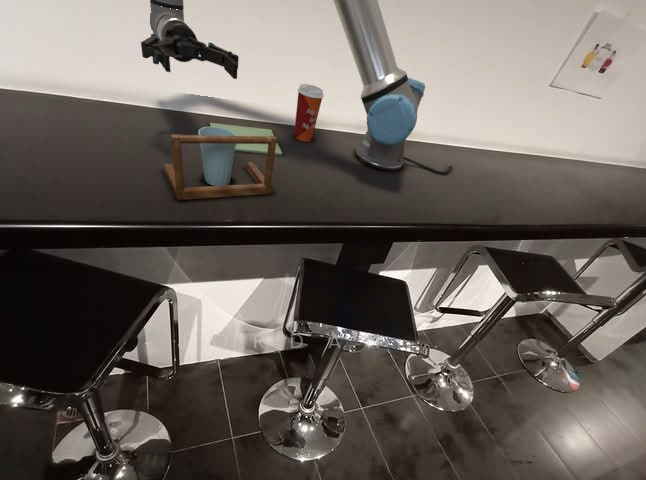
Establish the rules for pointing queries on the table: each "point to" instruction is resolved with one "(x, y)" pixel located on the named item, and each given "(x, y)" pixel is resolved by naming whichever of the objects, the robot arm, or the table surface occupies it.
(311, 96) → the paper cup
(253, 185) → the rack
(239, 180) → the table surface
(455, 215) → the table surface
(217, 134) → the cup
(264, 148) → the mat
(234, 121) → the table surface
